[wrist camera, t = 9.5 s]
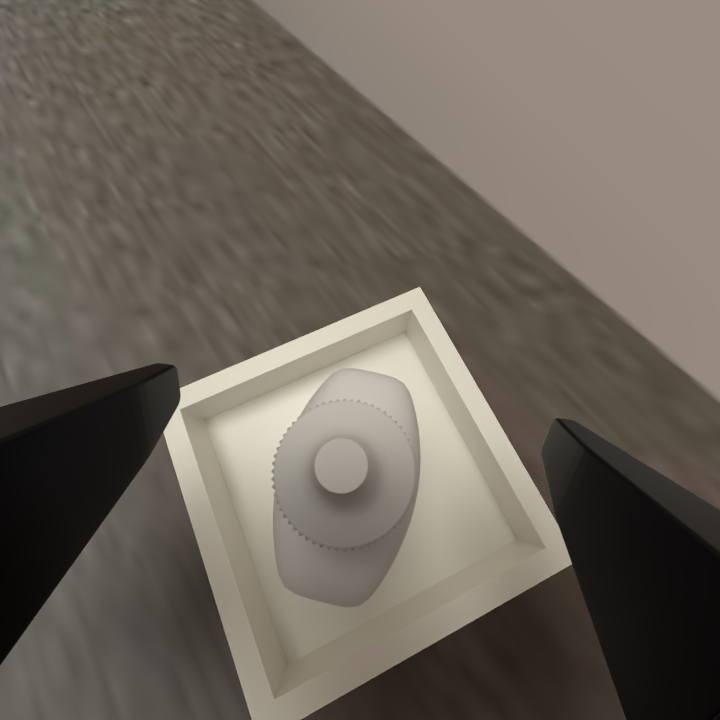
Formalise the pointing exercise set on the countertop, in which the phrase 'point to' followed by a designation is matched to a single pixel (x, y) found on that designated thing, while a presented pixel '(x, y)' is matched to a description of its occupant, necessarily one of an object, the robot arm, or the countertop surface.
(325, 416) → the eye dropper bottle
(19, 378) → the countertop surface
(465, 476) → the tray
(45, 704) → the countertop surface
